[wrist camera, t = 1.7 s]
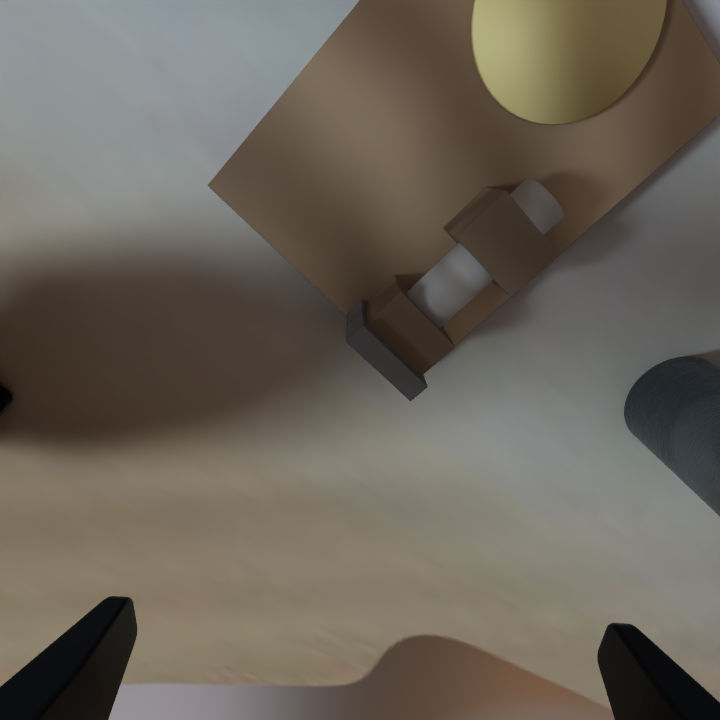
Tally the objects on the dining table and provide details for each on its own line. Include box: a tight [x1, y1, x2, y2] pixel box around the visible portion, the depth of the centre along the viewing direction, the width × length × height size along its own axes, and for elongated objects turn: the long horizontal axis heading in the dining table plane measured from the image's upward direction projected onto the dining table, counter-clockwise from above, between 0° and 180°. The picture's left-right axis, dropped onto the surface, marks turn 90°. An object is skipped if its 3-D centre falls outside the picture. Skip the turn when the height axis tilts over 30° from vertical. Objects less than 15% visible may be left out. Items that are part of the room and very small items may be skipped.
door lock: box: [208, 0, 720, 401], centre depth 15 cm, size 15×11×4 cm
